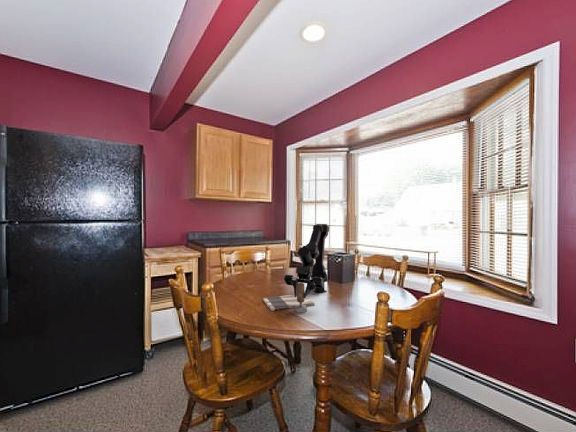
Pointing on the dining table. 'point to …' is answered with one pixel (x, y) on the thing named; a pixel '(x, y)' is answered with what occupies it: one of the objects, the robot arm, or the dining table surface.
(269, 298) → the cream and grey cloth
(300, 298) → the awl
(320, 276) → the robot arm
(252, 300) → the dining table surface
